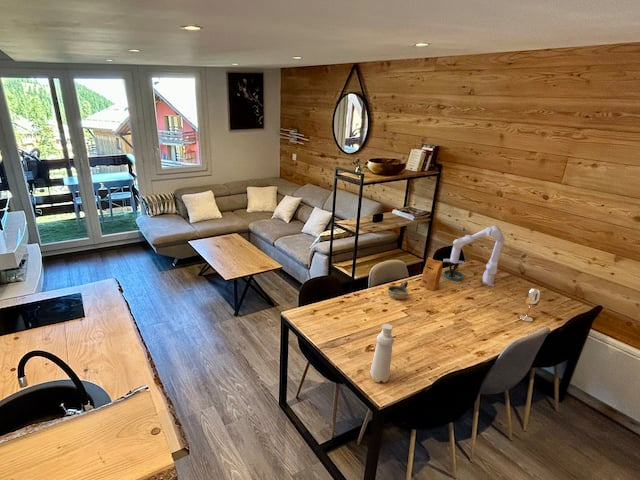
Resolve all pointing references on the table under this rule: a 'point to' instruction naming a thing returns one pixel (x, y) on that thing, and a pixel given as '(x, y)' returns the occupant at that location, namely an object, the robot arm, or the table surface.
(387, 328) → the bottle
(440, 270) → the coffee package
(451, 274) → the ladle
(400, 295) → the bowl
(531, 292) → the wineglass
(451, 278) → the teal ring
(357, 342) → the table surface
